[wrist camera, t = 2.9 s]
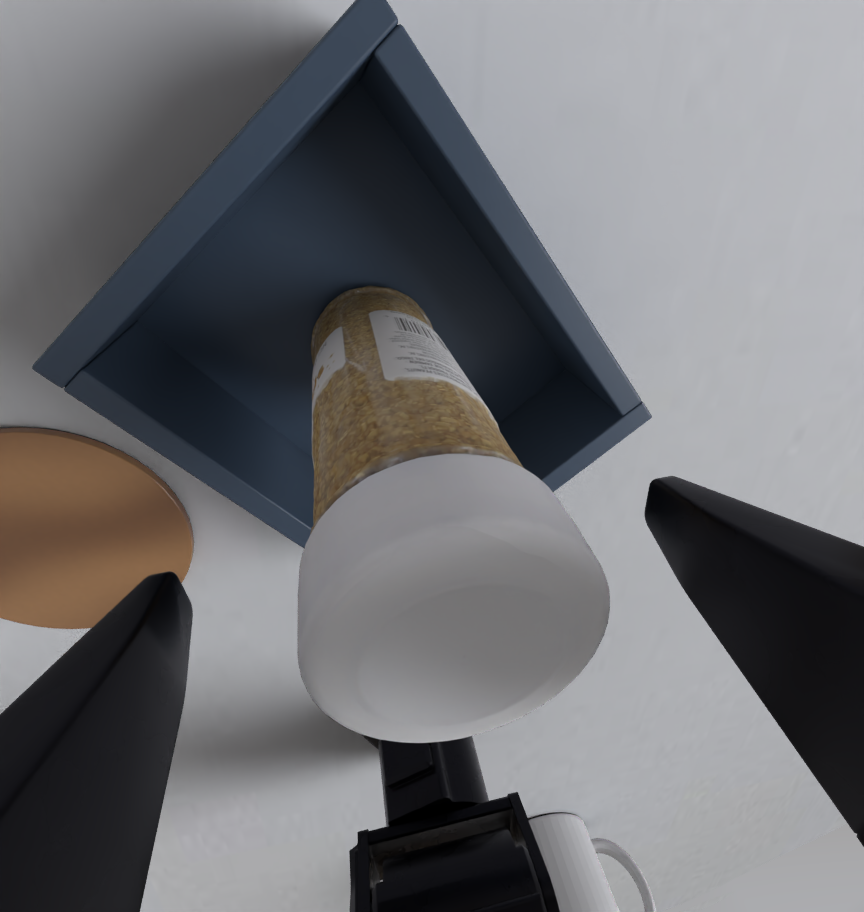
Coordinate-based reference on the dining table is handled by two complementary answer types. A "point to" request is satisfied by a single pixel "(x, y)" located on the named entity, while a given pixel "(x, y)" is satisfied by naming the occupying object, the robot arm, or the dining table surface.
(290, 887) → the dining table surface
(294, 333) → the bin
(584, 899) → the mug
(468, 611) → the sprinkles bottle
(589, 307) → the dining table surface
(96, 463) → the cork coaster
